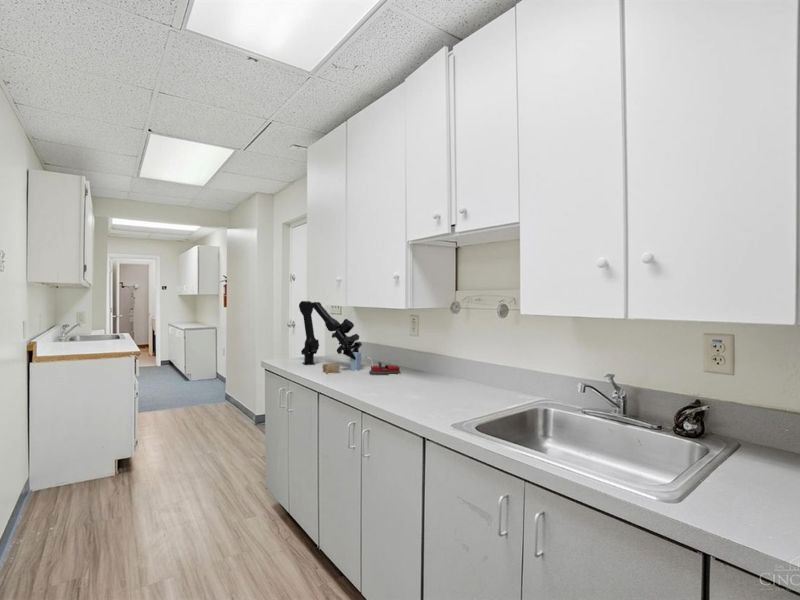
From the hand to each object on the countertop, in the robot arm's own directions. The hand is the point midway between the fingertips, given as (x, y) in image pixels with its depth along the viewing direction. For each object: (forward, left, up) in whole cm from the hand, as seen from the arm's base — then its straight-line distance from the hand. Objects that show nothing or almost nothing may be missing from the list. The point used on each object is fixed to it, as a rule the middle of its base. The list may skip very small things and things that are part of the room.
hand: (357, 358), depth 245 cm
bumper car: (+15, +9, -7) cm, 19 cm away
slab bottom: (+3, -17, -7) cm, 19 cm away
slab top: (+3, -17, -5) cm, 18 cm away
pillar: (-1, -1, -7) cm, 7 cm away
